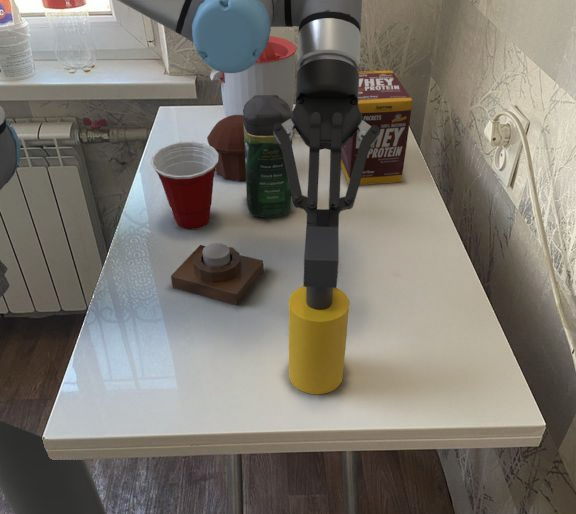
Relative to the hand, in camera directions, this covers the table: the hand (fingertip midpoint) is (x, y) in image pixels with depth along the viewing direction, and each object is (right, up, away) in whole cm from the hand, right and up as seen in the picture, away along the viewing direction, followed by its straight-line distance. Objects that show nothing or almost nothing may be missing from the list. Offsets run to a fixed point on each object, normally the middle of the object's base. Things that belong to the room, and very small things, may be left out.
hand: (321, 266), depth 74 cm
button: (-14, +3, +18) cm, 24 cm away
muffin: (-13, +25, +47) cm, 55 cm away
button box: (-14, +1, +21) cm, 25 cm away
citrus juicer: (-11, +37, +59) cm, 71 cm away
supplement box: (+12, +26, +48) cm, 56 cm away
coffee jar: (-7, +16, +37) cm, 41 cm away
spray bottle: (0, -13, +6) cm, 14 cm away
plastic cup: (-20, +12, +33) cm, 41 cm away
